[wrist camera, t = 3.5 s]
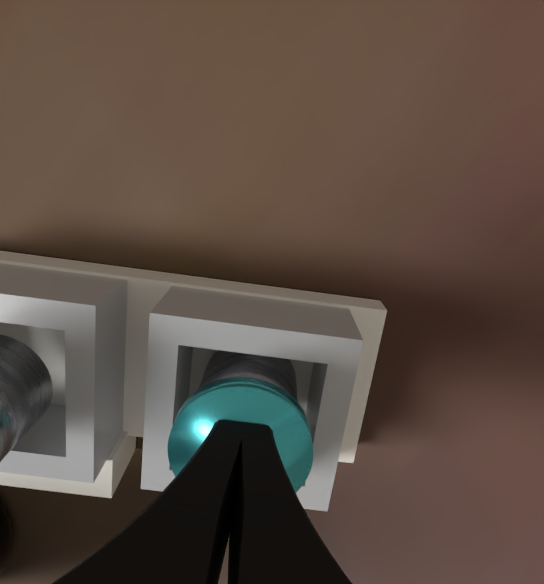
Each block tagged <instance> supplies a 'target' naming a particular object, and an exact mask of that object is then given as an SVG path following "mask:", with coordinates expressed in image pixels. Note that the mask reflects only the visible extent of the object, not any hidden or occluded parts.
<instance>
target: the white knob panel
mask: <svg viewBox="0 0 544 584" xmlns="http://www.w3.org/2000/svg"><path fill="white" fill-rule="evenodd" d="M386 314H387V310H386V308H385V307H384V305H383V304H382V302H381V301H380V300H372V299H364V298H357V297H349V296H341V295H334V294H326V293H319V292H311V291H303V290H296V289H288V288H281V287H273V286H265V285H258V284H250V283H242V282H235V281H227V280H220V279H212V278H204V277H197V276H189V275H182V274H174V273H166V272H159V271H151V270H143V269H136V268H128V267H121V266H113V265H105V264H98V263H90V262H83V261H75V260H67V259H60V258H52V257H44V256H37V255H29V254H22V253H14V252H6V251H0V335H5V336H8V337H11V338H14V339H16V340H18V341H20V342H22V343H24V344H25V345H27V346H28V347H29V348H31V349H32V350H33V351H34V352H35V353H36V354H37V355H38V356H39V357H40V358H41V360H42V361H43V362H44V364H45V365H46V367H47V369H48V371H49V374H50V376H51V380H52V386H53V394H52V400H51V403H50V405H49V407H48V409H47V411H46V412H45V413H44V415H43V416H42V417H41V418H40V419H39V420H38V421H37V422H36V423H35V425H34V426H33V427H32V428H31V429H30V430H29V431H28V432H27V433H26V434H25V435H24V437H23V438H22V439H21V440H20V441H19V442H18V443H17V444H16V445H15V446H14V448H13V449H12V450H11V451H10V452H9V453H8V454H7V455H6V456H5V457H4V458H3V460H2V461H1V462H0V485H4V486H13V487H21V488H29V489H38V490H46V491H54V492H63V493H71V494H79V495H88V496H96V497H104V498H112V496H113V494H114V492H115V490H116V488H117V486H118V484H119V482H120V480H121V478H122V476H123V474H124V472H125V470H126V468H127V466H128V464H129V462H130V460H131V458H132V456H133V454H134V452H135V450H136V437H143V453H142V473H141V489H145V490H154V491H163V490H164V489H165V488H166V487H167V486H168V485H169V484H170V483H171V482H172V480H173V479H174V478H175V475H174V473H173V471H172V469H171V466H170V463H169V459H168V439H169V435H170V432H171V429H172V426H173V424H174V421H175V419H176V416H177V414H178V412H179V410H180V408H181V406H182V405H183V404H184V402H185V401H186V400H187V399H188V398H189V397H190V396H191V395H192V394H193V393H194V392H195V391H197V390H198V389H199V386H200V383H201V381H202V378H203V375H204V372H205V369H206V366H207V364H208V362H209V360H210V359H211V357H212V356H213V355H214V354H215V353H216V352H217V351H218V350H222V351H229V352H237V353H245V354H253V355H261V356H268V357H276V358H284V359H289V360H290V362H291V364H292V366H293V368H294V371H295V375H296V385H297V399H298V403H299V404H300V406H301V407H302V408H303V410H304V412H305V414H306V415H307V418H308V420H309V423H310V427H311V432H312V441H313V463H312V467H311V471H310V473H309V475H308V478H307V479H306V481H305V483H304V484H303V486H302V487H301V488H300V489H299V490H298V491H297V492H296V495H297V497H298V499H299V501H300V503H301V505H302V506H303V508H304V509H311V510H319V511H328V506H329V502H330V497H331V492H332V487H333V483H334V478H335V473H336V468H337V464H338V461H339V462H347V463H353V462H354V457H355V453H356V448H357V444H358V439H359V435H360V430H361V426H362V422H363V417H364V413H365V408H366V404H367V399H368V395H369V390H370V386H371V381H372V377H373V372H374V368H375V363H376V359H377V354H378V350H379V345H380V341H381V336H382V332H383V327H384V323H385V318H386Z"/></svg>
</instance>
